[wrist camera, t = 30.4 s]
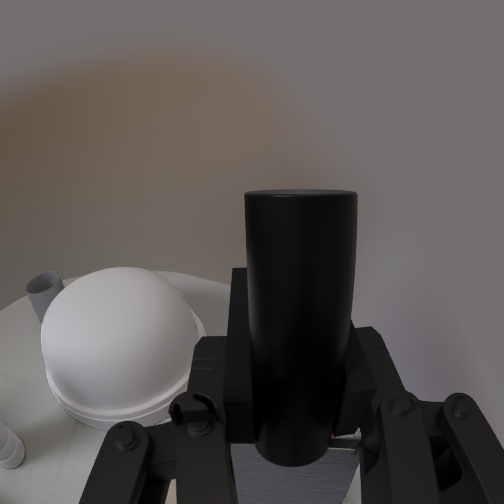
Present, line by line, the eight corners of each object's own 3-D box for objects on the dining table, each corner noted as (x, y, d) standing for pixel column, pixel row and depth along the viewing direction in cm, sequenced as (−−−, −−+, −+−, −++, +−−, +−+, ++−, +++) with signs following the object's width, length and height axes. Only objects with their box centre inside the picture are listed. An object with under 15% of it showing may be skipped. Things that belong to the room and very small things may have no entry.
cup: (65, 335, 49) (47, 294, 45) (37, 332, 49) (18, 293, 44) (80, 310, 57) (66, 271, 52) (53, 308, 57) (38, 271, 52)
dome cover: (22, 397, 34) (-20, 337, 28) (93, 298, 60) (74, 243, 54) (194, 453, 31) (167, 395, 24) (230, 310, 57) (224, 245, 50)
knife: (327, 520, 12) (396, 191, 7) (320, 553, 9) (422, 198, 5) (246, 510, 13) (220, 190, 9) (233, 541, 10) (175, 196, 6)
